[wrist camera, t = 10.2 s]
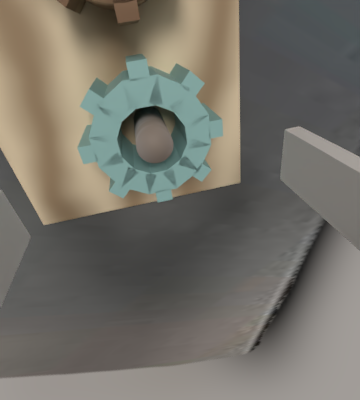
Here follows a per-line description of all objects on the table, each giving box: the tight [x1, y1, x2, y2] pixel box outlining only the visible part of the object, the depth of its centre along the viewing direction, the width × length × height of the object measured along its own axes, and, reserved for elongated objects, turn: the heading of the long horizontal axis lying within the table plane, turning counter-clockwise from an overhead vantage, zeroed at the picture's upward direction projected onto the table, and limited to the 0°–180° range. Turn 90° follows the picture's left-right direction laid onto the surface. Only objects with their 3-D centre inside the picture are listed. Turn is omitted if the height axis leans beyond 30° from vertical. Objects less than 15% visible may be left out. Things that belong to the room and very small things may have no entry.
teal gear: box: [77, 54, 223, 202], centre depth 20 cm, size 10×10×5 cm
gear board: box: [0, 0, 240, 225], centre depth 17 cm, size 20×24×8 cm
